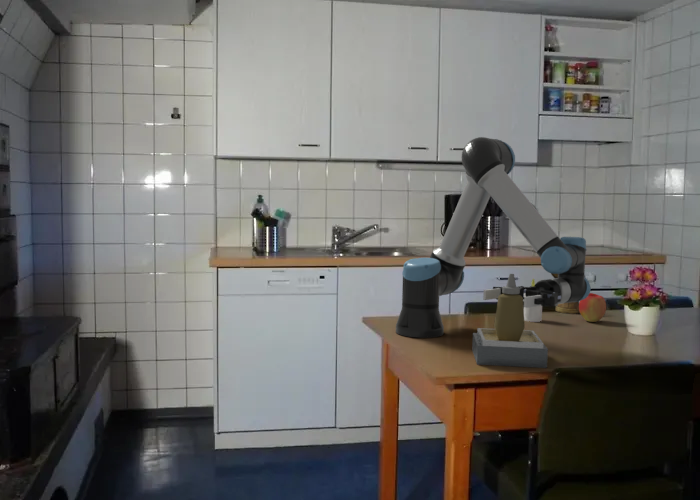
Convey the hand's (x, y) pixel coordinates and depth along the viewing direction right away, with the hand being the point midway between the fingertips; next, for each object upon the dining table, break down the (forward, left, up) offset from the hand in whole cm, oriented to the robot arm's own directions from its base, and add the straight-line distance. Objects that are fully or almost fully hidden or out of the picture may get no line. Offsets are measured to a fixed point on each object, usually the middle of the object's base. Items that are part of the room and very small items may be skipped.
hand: (504, 298), depth 183 cm
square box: (+2, +2, -17) cm, 17 cm away
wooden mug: (+33, +82, -17) cm, 90 cm away
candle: (+18, +60, -17) cm, 65 cm away
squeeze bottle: (+2, +2, -12) cm, 12 cm away
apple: (+39, +62, -17) cm, 75 cm away
